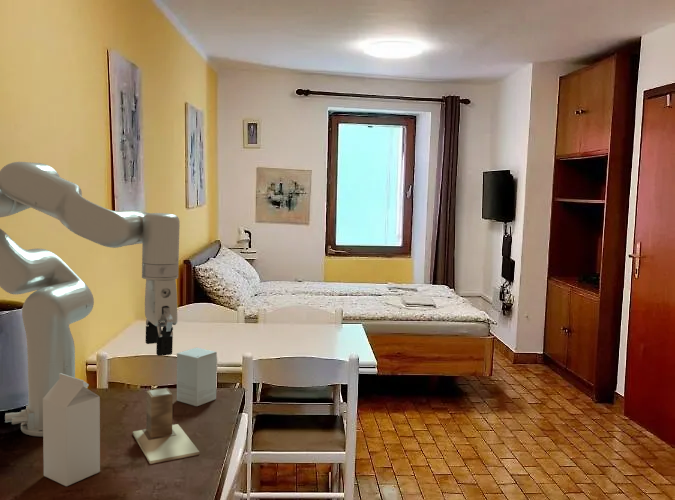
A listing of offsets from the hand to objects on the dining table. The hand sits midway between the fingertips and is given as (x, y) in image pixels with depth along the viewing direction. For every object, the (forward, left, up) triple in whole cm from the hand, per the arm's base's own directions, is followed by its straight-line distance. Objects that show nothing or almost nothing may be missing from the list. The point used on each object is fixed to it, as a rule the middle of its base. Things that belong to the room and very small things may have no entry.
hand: (158, 348), depth 131 cm
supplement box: (+14, +18, -20) cm, 30 cm away
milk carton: (-19, -11, -20) cm, 29 cm away
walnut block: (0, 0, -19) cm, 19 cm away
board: (0, -5, -20) cm, 20 cm away
